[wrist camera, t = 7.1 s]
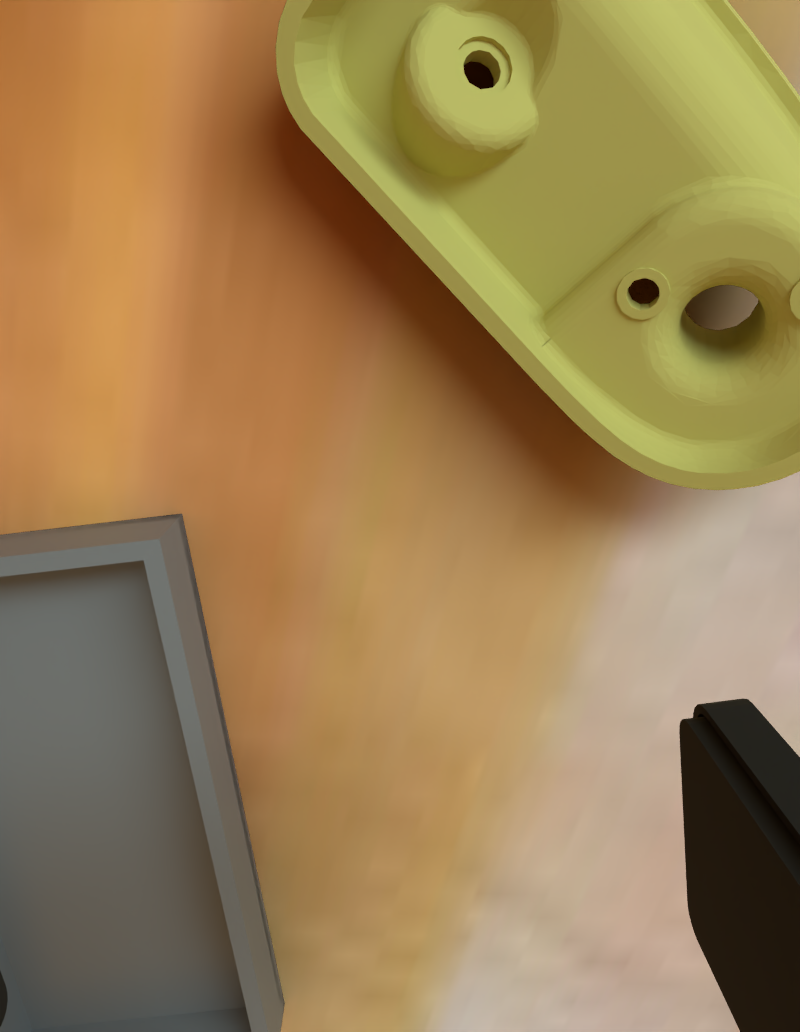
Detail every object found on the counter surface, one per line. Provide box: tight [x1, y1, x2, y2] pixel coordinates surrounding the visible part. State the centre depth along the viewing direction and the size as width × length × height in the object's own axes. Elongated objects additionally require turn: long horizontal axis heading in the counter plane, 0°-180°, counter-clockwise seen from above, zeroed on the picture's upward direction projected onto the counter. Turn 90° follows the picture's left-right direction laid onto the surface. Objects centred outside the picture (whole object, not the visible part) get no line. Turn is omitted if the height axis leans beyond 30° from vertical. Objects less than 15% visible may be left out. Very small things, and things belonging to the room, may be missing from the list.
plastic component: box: [276, 0, 800, 490], centre depth 24 cm, size 20×7×10 cm
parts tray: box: [0, 514, 285, 1032], centre depth 31 cm, size 24×12×3 cm, turn 7°
